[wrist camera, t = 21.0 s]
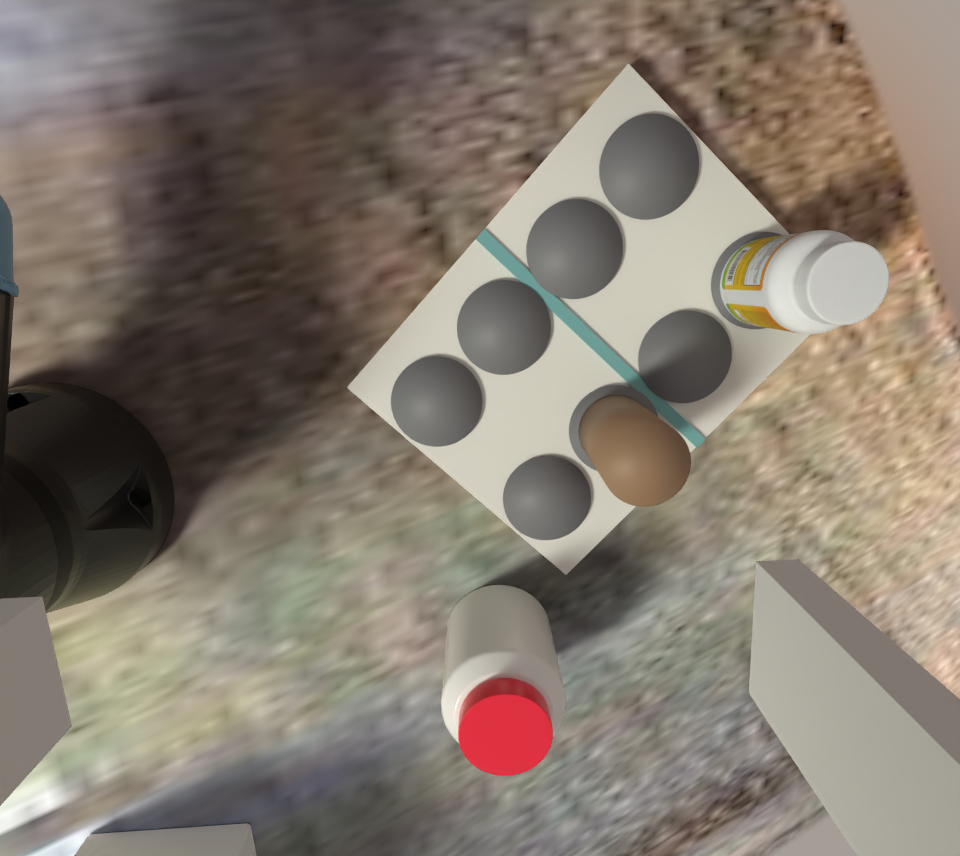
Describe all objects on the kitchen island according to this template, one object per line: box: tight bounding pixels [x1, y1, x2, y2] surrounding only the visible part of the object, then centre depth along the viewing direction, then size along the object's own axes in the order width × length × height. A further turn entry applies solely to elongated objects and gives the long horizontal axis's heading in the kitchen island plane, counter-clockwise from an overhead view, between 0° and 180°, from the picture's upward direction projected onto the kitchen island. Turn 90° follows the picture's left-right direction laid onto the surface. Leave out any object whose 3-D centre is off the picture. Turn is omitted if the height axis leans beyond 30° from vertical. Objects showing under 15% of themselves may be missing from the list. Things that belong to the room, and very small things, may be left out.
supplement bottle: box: [720, 230, 889, 334], centre depth 35 cm, size 5×5×10 cm
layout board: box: [347, 63, 810, 575], centre depth 37 cm, size 26×20×10 cm
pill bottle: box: [441, 585, 566, 775], centre depth 42 cm, size 8×8×11 cm
